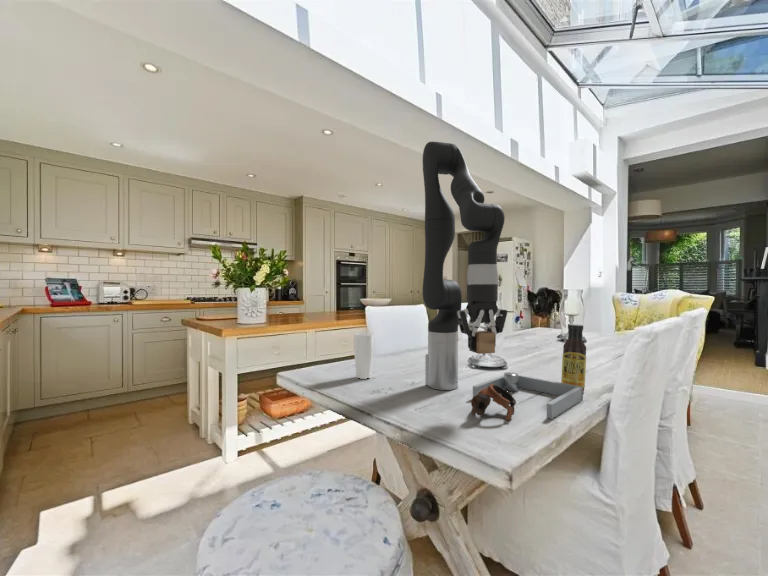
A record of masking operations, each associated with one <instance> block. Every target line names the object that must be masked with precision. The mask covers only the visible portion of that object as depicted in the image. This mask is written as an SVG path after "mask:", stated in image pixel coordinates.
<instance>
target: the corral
mask: <svg viewBox="0 0 768 576" xmlns="http://www.w3.org/2000/svg"><path fill="white" fill-rule="evenodd" d="M490 384H494V385H497V386H499V387H501V388H503V389H504V374H503V375H501V376H500V375H499V376H498V377H495V378H492V379H489V380H487V381H483V382H482V383H478V384H475V385H472V398H473V397H474V396H476V395H477V394H478V393H479V392H480V390H482V389H484V388H488V387H489V385H490ZM520 387H521V389H525V388H526V389H525V390H529V389H531V390H530V391H534V390H536V391H535V392H539V391H541V392H540V393H543V392H544V393H543V394H548V393H549V395H552V396H557V397H555V398H554V399H552V400H550V401H548V402H547V403H546V419H548V418H550V419H549V420H553V419H555V418H556V417H558V416H559V414H560V415H561V414H563V413H564V412H566V411H567V410H569V409H570V408H572V407H574V406H575V405H576V404H578V403H580V402H581V401H583V400H584V399H583V398H584V392H583V387H581V386H575V385H570V384H565V383H561V382H557V381H555V380H554V381H553V380H547V379H542V378H538V377H537V378H536V377H532V376H527V375H522V374H518V388H520ZM554 417H555V418H554Z"/></svg>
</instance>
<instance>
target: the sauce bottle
mask: <svg viewBox="0 0 768 576" xmlns="http://www.w3.org/2000/svg"><path fill="white" fill-rule="evenodd" d="M567 330H568V331H567V332H568V335H567V339H566V341H565V343H564V344H563V346H562V347H563V350H562V351H563V352H562V360H561V362H562V363H561V382H560V383H565V384H570V385H575V386H581V387H583V393H584V392H585V387H586V370H587V369H586V368H587V346H586V344H585V343H584V341H583V331H584V325H583V324H577V323H568V325H567Z"/></svg>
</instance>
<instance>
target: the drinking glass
mask: <svg viewBox="0 0 768 576" xmlns="http://www.w3.org/2000/svg"><path fill="white" fill-rule="evenodd" d="M374 339H375V338H374V333H373V332H356V333H354V334H353V351H354V363H355V378H356V379H358V378H360V379H359V380H368V379H367V378H369V379H371V378H372V376H373V375H372V374H373V359H374V358H373V357H374V347H375V345H374V344H375V343H374V342H375V340H374Z"/></svg>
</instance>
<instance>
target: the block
mask: <svg viewBox="0 0 768 576" xmlns="http://www.w3.org/2000/svg"><path fill="white" fill-rule="evenodd" d="M475 337H476V351H470V349H469V348H468V349H469V352H471V353H472V352H473V353H476V354H478V355H480V354H482V355H483V354H484V355H485V354H494V353H496V346H495V344H496V343H495V333H494V332H489V331H487V330H477V333H476V336H475Z"/></svg>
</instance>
